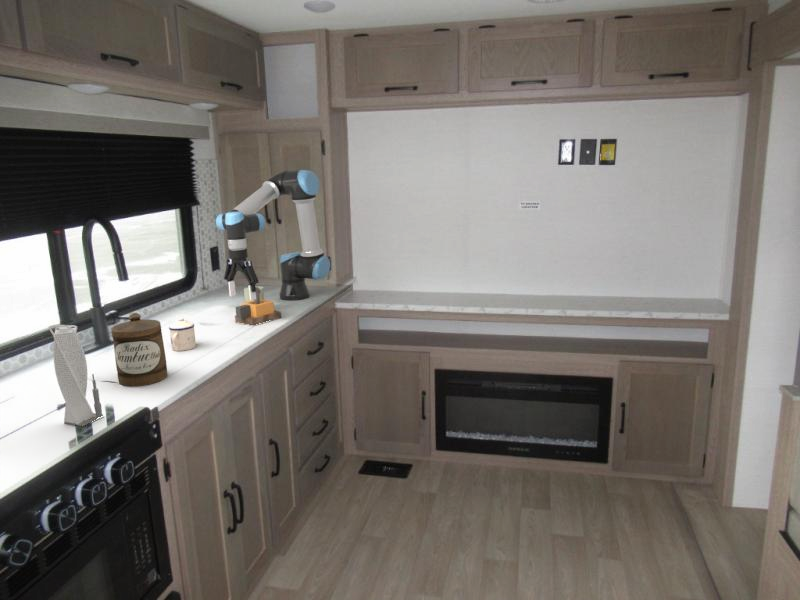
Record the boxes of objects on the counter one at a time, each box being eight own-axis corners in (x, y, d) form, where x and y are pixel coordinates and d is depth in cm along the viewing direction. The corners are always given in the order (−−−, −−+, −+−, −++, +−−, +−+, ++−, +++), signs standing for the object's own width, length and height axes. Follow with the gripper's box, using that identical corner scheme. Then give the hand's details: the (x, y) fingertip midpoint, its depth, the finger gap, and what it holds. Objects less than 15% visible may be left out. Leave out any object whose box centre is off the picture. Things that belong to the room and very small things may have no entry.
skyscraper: (78, 429, 157) (61, 327, 150) (56, 425, 160) (39, 324, 153) (104, 416, 164) (89, 318, 158) (83, 412, 167) (67, 316, 161)
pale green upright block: (268, 309, 282) (266, 285, 280) (262, 314, 274) (259, 289, 271) (249, 309, 283) (247, 285, 281) (242, 314, 275) (240, 289, 272)
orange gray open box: (259, 309, 270) (258, 299, 269) (274, 312, 264) (273, 301, 263) (231, 317, 258) (230, 306, 257) (246, 320, 252) (245, 308, 251)
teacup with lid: (177, 344, 231) (174, 315, 228) (200, 344, 230) (197, 315, 227) (163, 354, 219) (160, 323, 216) (187, 353, 218) (184, 323, 216)
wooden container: (115, 389, 185) (105, 321, 180) (122, 374, 199) (113, 310, 194) (165, 383, 189) (157, 316, 184) (169, 368, 203) (161, 306, 198)
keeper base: (263, 314, 274) (261, 283, 270) (281, 317, 266) (278, 285, 263) (235, 322, 261) (232, 289, 258) (253, 326, 254) (250, 292, 251)
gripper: (212, 248, 255) (217, 296, 260) (249, 252, 240) (254, 302, 245) (226, 245, 261) (231, 292, 266) (264, 249, 246) (268, 299, 251)
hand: (242, 297), depth 256 cm, fingers open, 13 cm apart
